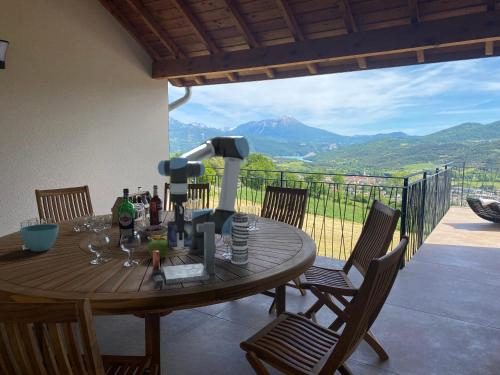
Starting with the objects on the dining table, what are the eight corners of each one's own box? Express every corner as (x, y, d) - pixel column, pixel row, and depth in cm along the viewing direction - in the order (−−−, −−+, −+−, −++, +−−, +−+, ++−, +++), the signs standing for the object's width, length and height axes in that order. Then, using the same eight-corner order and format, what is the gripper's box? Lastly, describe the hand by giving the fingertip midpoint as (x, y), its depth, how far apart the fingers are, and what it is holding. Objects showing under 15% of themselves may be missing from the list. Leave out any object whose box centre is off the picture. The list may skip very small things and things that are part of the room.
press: (152, 271, 158) (151, 222, 155) (209, 266, 167) (209, 219, 164) (155, 286, 141) (154, 231, 138) (218, 279, 150) (219, 227, 147)
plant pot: (49, 243, 202) (48, 222, 201) (66, 248, 192) (65, 226, 191) (14, 250, 187) (13, 228, 186) (30, 256, 177) (29, 233, 176)
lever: (152, 270, 156) (151, 250, 155) (160, 269, 157) (159, 249, 156) (152, 273, 153) (152, 252, 151) (161, 272, 154) (160, 251, 153)
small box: (167, 248, 148) (167, 224, 147) (166, 244, 154) (166, 221, 153) (192, 246, 150) (192, 223, 149) (191, 243, 157) (190, 220, 156)
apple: (168, 254, 184) (168, 236, 183) (170, 260, 174) (170, 241, 173) (147, 256, 181) (147, 237, 180) (148, 262, 171) (147, 242, 170)
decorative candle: (252, 261, 174) (253, 212, 171) (238, 265, 168) (238, 214, 165) (241, 257, 181) (241, 210, 178) (226, 261, 175) (227, 212, 172)
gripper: (167, 190, 157) (168, 240, 160) (172, 196, 139) (173, 251, 142) (184, 190, 160) (184, 238, 162) (191, 195, 142) (191, 250, 144)
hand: (179, 244), depth 152 cm, fingers closed on small box, 7 cm apart
